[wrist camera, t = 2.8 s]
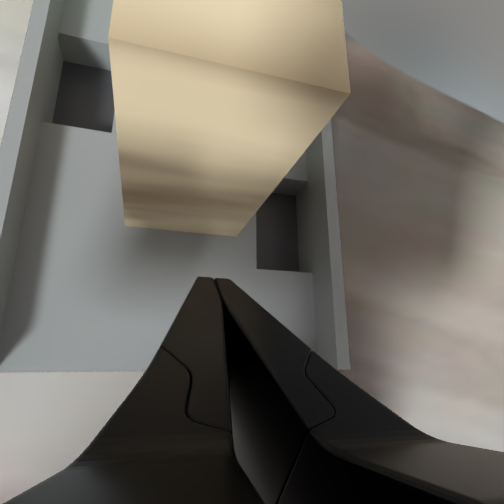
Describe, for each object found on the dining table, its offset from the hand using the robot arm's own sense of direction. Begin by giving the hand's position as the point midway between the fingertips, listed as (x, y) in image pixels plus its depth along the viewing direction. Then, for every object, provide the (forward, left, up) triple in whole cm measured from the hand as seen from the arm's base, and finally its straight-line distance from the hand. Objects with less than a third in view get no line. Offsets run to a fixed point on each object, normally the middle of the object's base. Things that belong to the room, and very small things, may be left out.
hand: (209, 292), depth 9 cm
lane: (+8, 0, -8) cm, 12 cm away
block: (+7, 0, -6) cm, 10 cm away
